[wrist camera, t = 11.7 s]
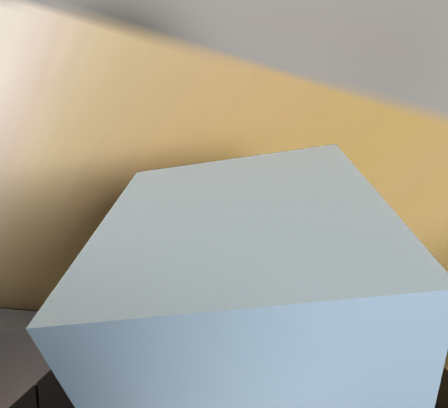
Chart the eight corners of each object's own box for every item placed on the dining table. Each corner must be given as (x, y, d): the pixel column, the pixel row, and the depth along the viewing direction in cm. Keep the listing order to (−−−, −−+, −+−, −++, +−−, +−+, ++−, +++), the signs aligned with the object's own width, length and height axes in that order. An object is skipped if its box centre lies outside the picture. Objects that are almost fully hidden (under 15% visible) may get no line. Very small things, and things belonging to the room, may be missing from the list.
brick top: (335, 144, 8) (461, 288, 3) (336, 361, 12) (398, 567, 7) (136, 172, 8) (25, 328, 4) (198, 372, 12) (175, 568, 8)
